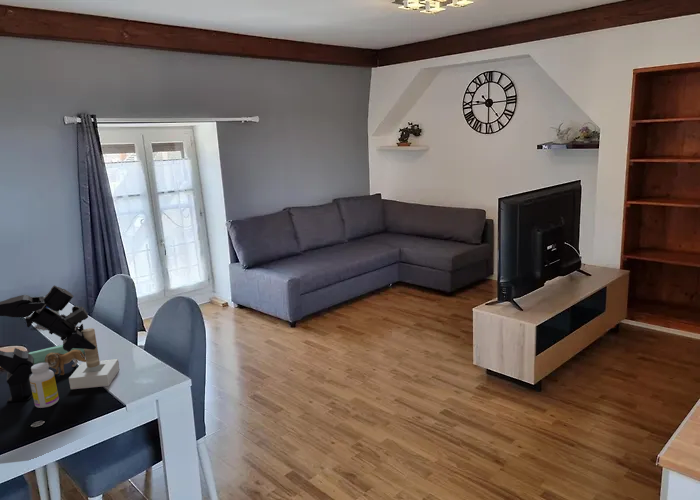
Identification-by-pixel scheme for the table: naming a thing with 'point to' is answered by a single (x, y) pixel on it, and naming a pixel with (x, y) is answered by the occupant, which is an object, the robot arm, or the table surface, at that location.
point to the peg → (90, 354)
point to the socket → (94, 374)
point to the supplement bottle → (43, 385)
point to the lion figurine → (63, 359)
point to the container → (41, 354)
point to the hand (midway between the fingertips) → (95, 346)
